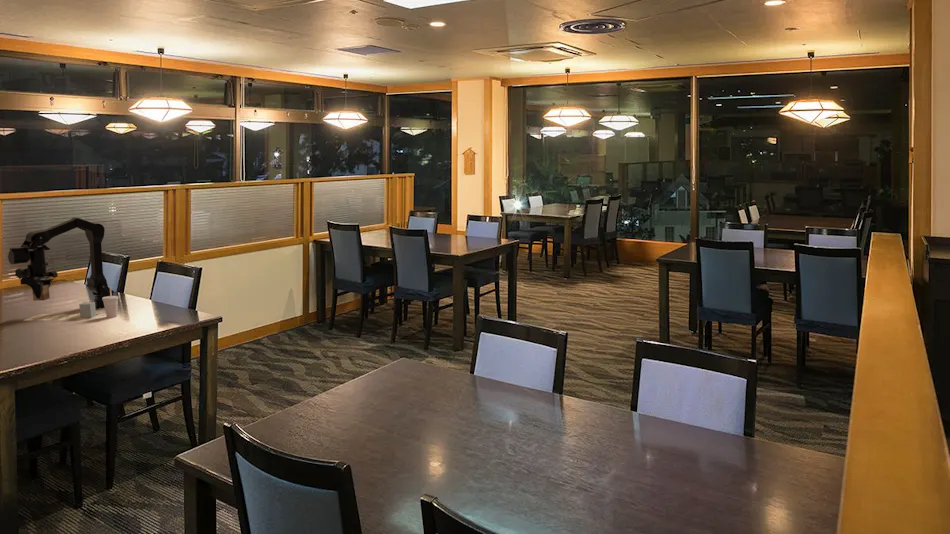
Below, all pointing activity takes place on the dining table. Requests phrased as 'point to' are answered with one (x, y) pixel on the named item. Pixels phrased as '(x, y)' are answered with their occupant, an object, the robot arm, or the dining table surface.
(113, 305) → the smoothie
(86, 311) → the slate block
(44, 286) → the walnut block
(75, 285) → the dining table surface
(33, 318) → the board
